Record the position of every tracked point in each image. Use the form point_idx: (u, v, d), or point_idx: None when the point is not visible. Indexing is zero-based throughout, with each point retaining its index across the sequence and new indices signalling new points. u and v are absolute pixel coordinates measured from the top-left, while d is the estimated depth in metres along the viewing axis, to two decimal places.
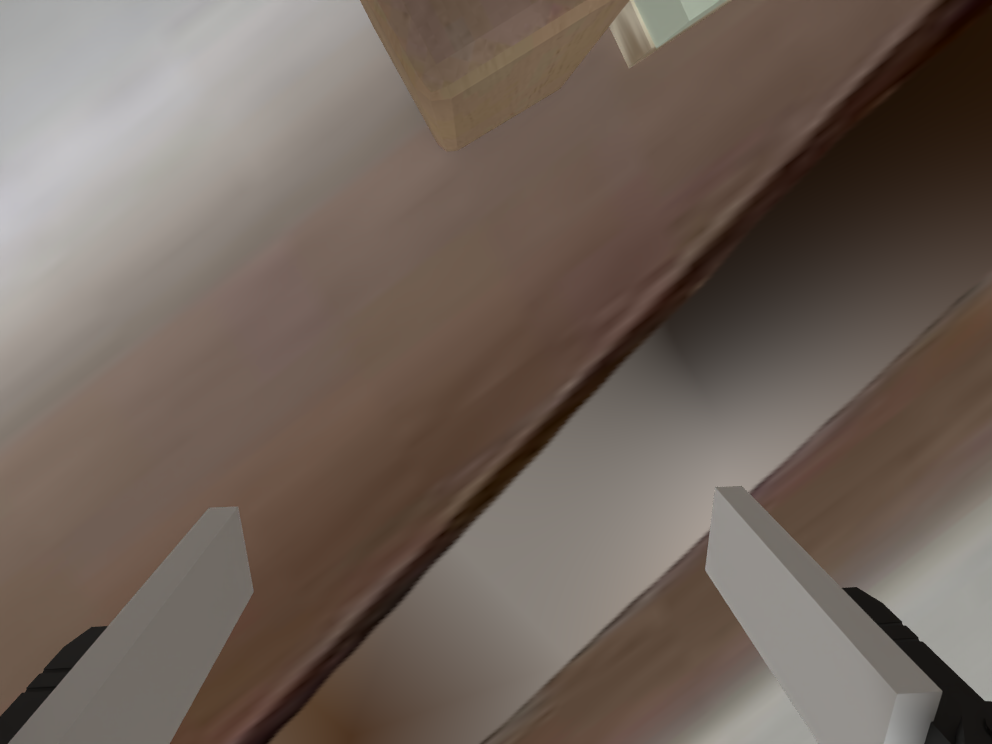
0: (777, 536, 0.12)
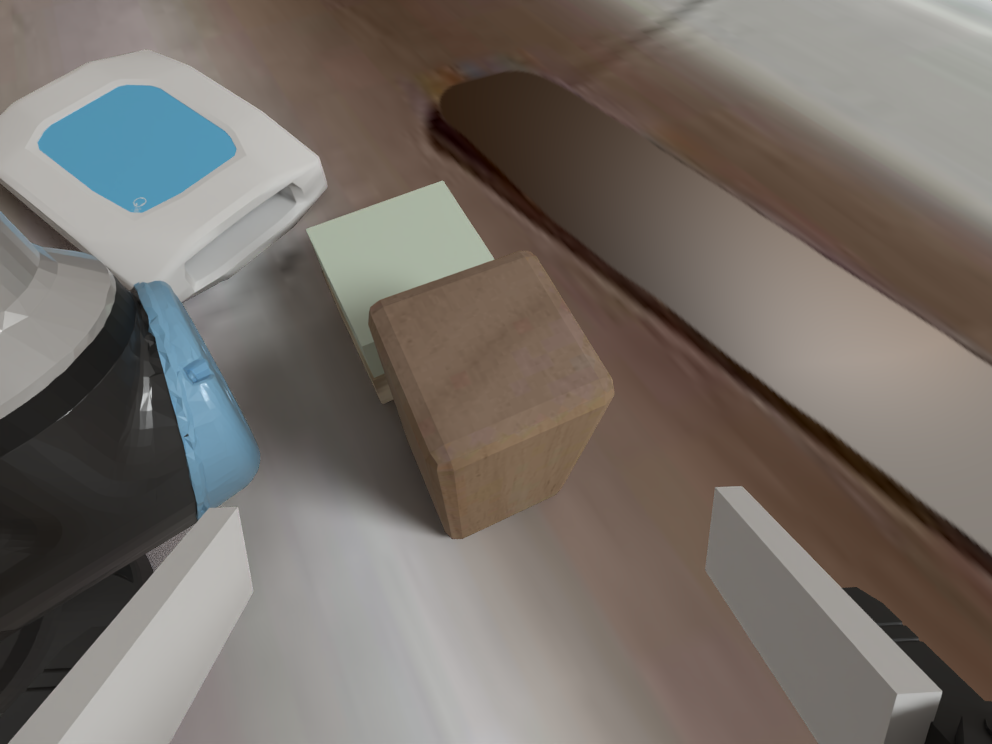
0: (777, 536, 0.12)
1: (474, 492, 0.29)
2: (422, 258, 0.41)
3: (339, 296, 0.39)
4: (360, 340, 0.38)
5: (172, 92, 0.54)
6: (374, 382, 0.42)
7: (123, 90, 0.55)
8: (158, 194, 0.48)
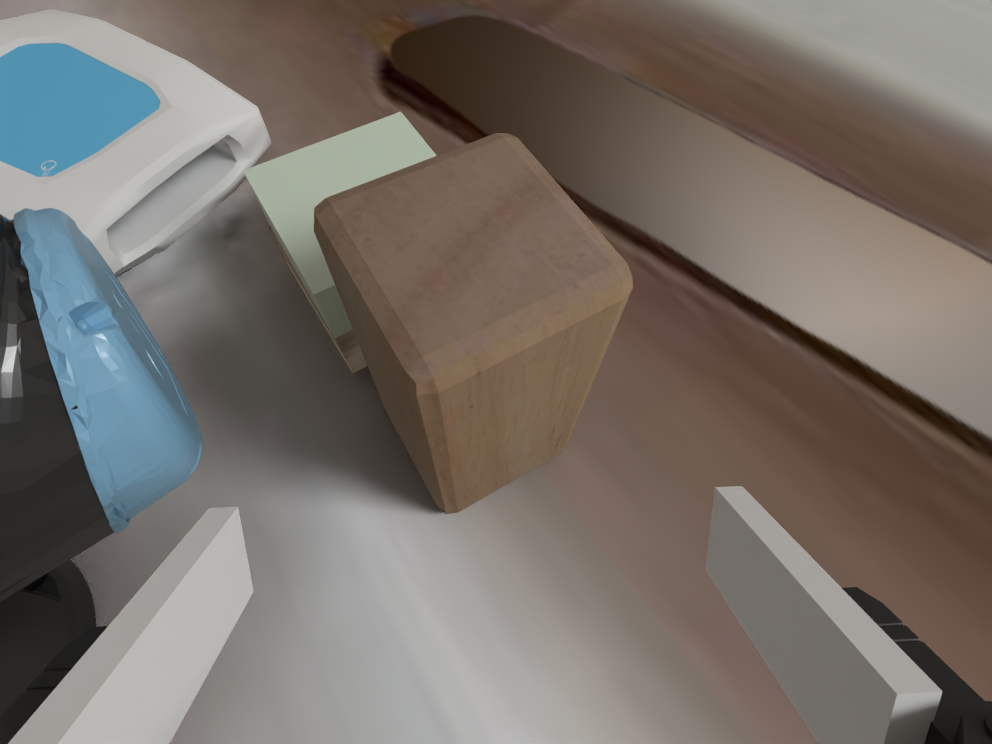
0: (777, 536, 0.12)
1: (467, 436, 0.24)
2: None
3: (284, 241, 0.33)
4: (311, 288, 0.32)
5: (82, 48, 0.48)
6: (340, 343, 0.36)
7: (25, 49, 0.48)
8: (70, 155, 0.42)
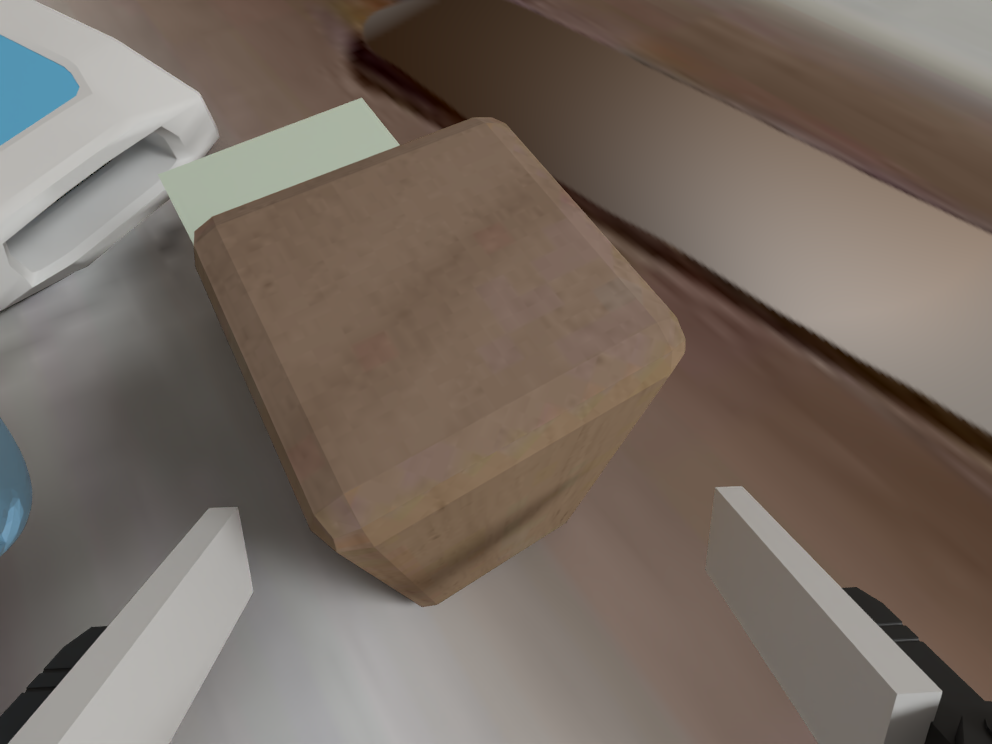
0: (777, 536, 0.12)
1: (436, 559, 0.16)
2: None
3: None
4: None
5: None
6: None
7: None
8: None
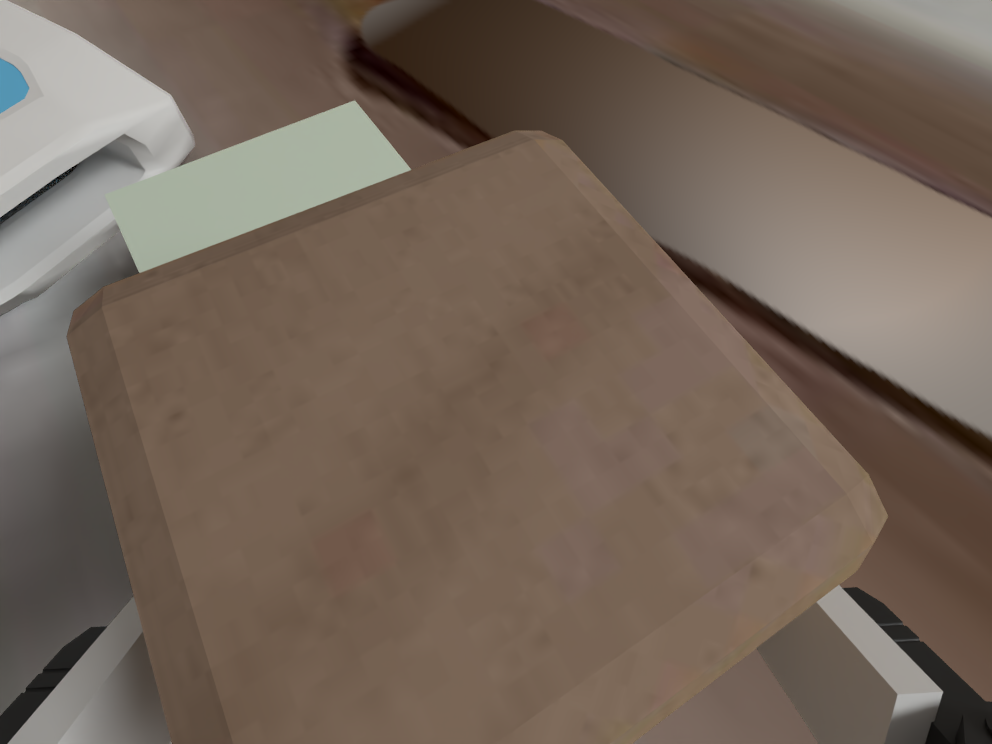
0: None
1: None
2: None
3: None
4: None
5: None
6: None
7: None
8: None
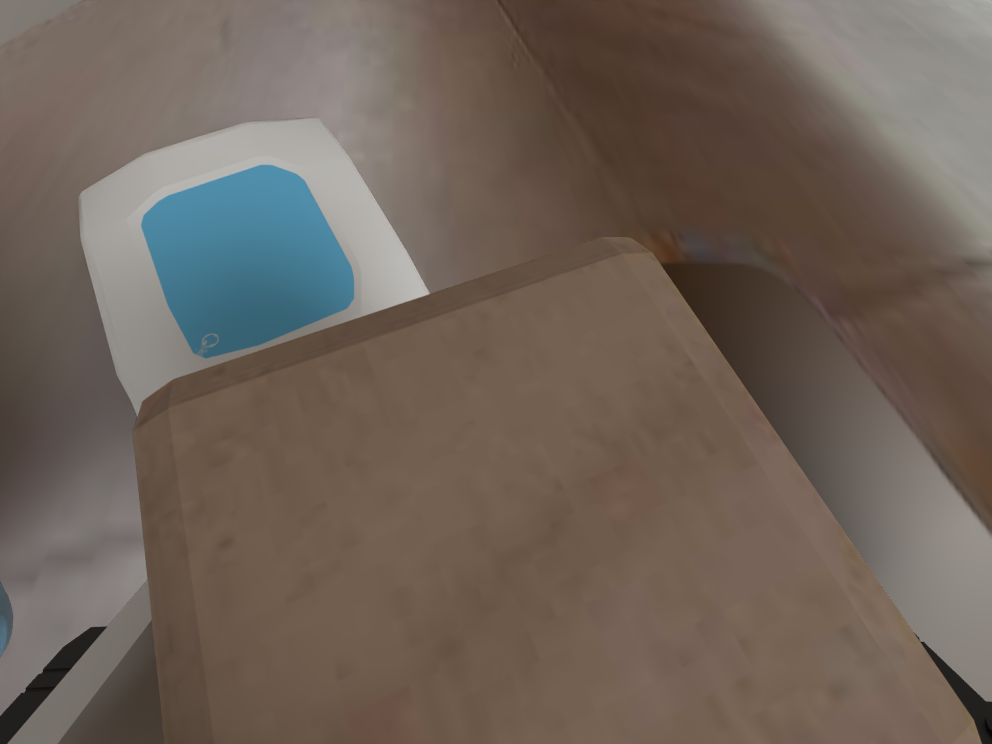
0: None
1: None
2: None
3: None
4: None
5: (314, 191, 0.43)
6: None
7: (264, 171, 0.44)
8: (236, 335, 0.37)
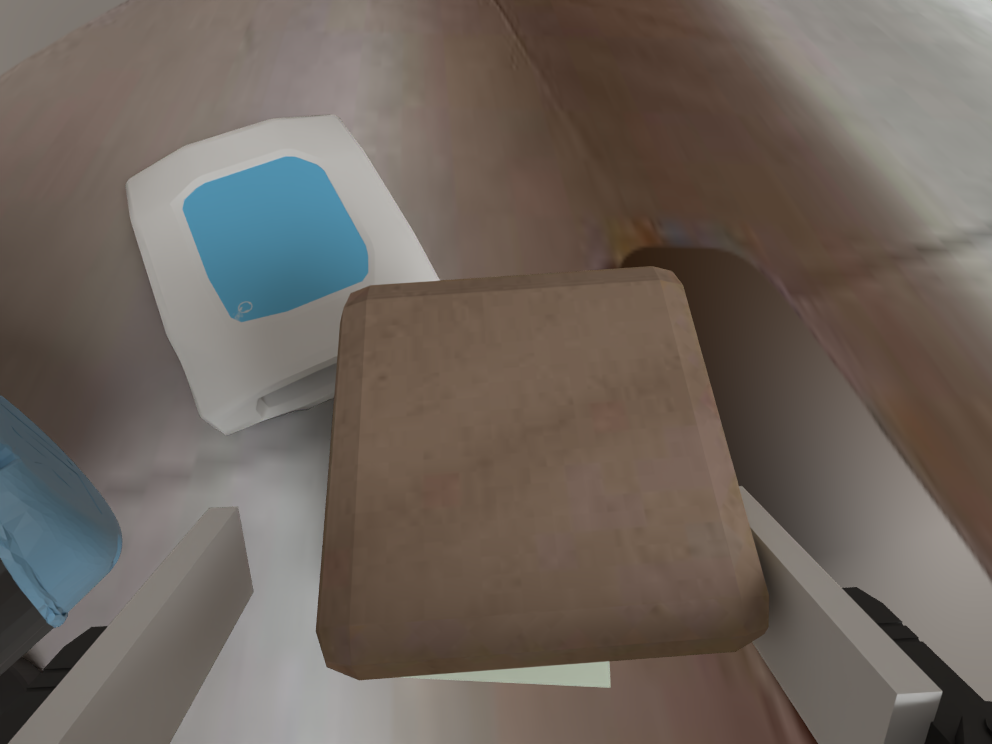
0: (777, 536, 0.12)
1: None
2: None
3: None
4: None
5: (333, 180, 0.49)
6: None
7: (288, 162, 0.50)
8: (267, 303, 0.43)
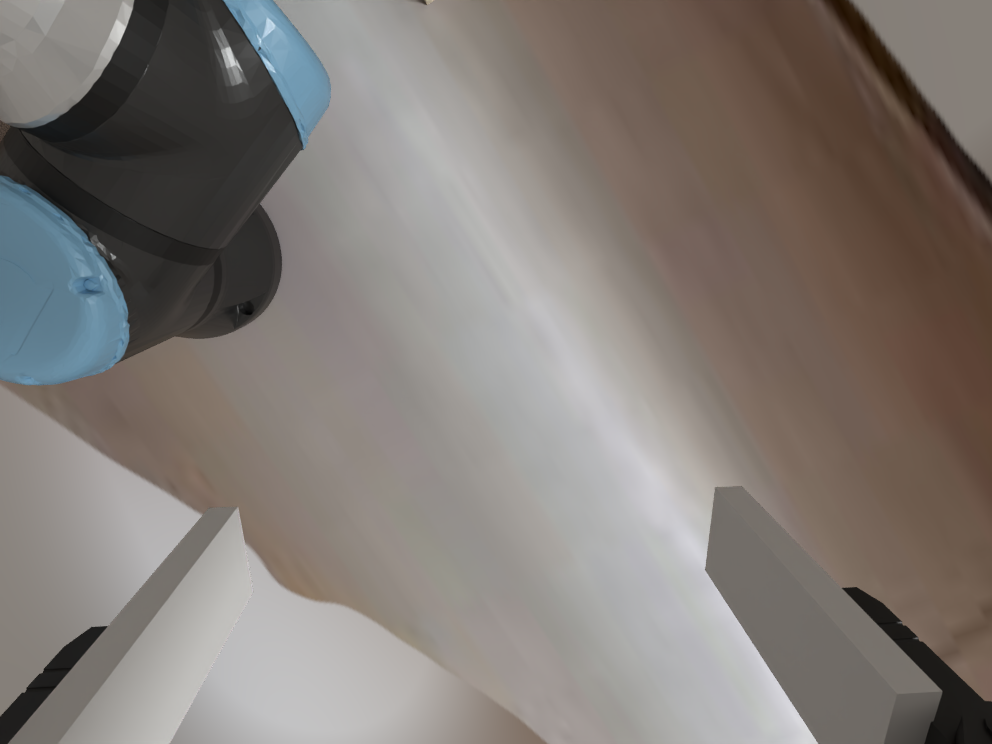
0: (777, 536, 0.12)
1: None
2: None
3: None
4: None
5: None
6: None
7: None
8: None
